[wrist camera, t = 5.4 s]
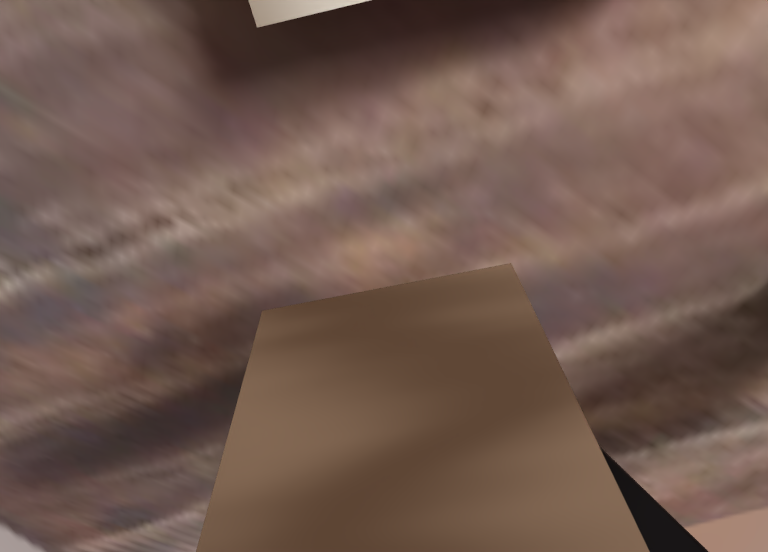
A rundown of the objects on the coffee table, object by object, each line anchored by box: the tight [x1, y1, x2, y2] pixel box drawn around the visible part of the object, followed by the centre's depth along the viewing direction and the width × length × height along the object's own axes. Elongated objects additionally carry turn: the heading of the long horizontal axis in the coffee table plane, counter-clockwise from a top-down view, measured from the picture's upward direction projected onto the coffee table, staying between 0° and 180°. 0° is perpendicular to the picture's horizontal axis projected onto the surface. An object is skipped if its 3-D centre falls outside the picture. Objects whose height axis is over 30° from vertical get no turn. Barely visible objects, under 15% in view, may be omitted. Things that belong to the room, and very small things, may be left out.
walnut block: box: [196, 263, 650, 552], centre depth 8 cm, size 5×5×7 cm
